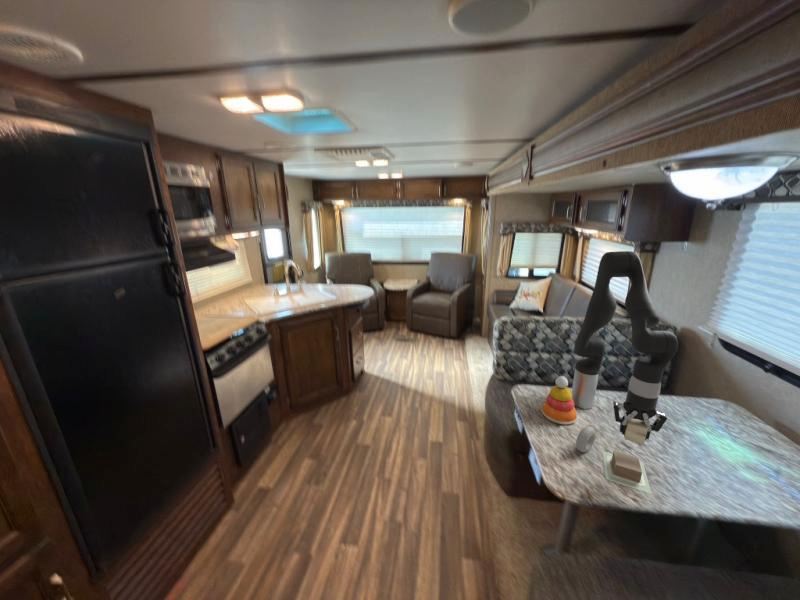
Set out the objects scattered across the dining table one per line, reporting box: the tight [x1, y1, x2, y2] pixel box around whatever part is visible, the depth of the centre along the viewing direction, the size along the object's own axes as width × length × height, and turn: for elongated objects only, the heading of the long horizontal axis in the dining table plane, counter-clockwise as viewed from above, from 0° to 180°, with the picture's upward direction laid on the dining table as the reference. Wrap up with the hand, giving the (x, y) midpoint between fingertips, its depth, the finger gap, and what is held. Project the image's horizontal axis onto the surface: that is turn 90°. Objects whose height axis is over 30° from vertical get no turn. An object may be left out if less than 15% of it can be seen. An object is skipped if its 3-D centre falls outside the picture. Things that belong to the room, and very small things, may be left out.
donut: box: [575, 426, 597, 453], centre depth 112 cm, size 10×4×10 cm, turn 123°
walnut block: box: [612, 450, 642, 482], centre depth 103 cm, size 7×7×4 cm
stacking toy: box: [540, 375, 579, 425], centre depth 130 cm, size 14×14×20 cm
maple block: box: [623, 418, 648, 445], centre depth 98 cm, size 5×5×6 cm
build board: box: [602, 450, 653, 495], centre depth 103 cm, size 14×12×1 cm
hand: (633, 435), depth 99 cm, fingers closed on maple block, 5 cm apart
